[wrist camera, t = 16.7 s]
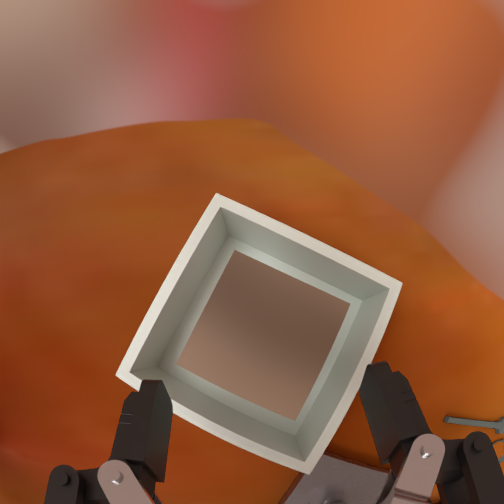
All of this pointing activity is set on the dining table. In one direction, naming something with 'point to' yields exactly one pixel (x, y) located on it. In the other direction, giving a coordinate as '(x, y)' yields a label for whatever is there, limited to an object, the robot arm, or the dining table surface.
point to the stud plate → (337, 483)
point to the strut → (264, 335)
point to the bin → (195, 299)
